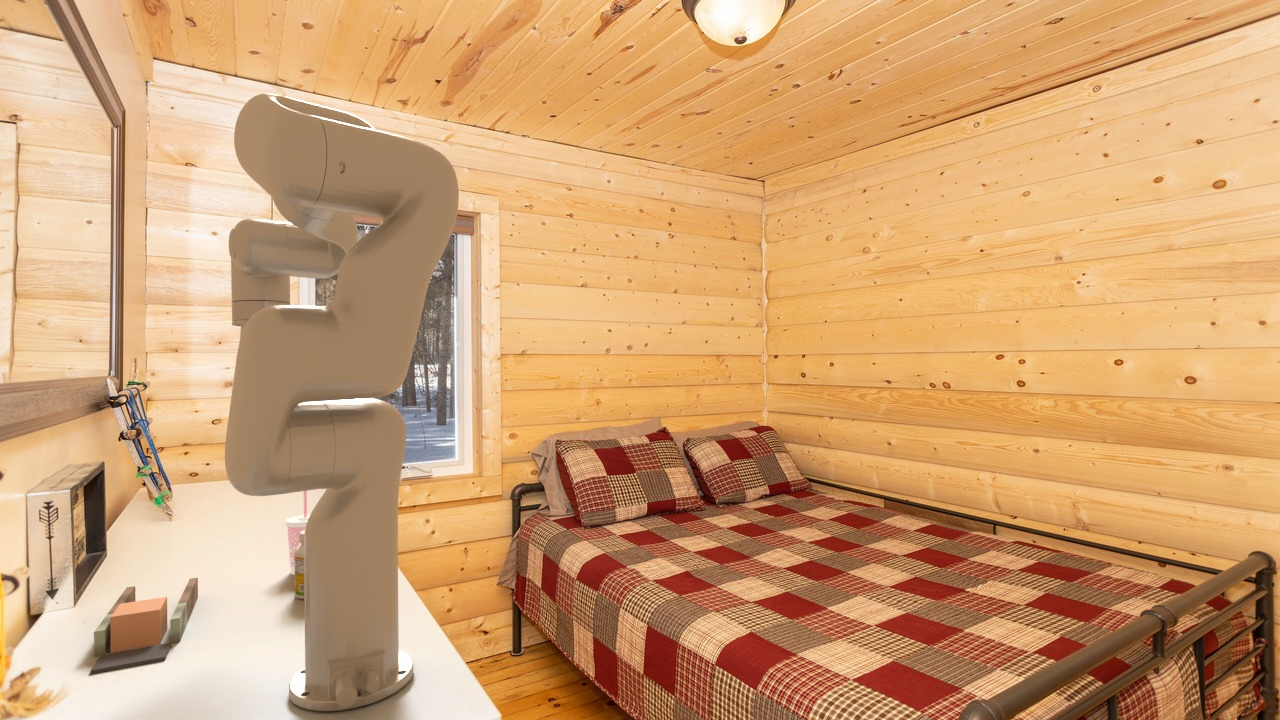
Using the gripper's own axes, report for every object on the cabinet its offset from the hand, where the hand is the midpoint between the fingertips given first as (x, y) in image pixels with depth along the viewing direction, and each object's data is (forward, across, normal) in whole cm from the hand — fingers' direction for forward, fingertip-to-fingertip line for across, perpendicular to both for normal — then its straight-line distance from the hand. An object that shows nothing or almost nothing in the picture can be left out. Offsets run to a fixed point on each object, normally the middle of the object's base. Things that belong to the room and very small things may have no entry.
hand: (264, 439), depth 96 cm
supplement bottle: (+24, -2, +6) cm, 25 cm away
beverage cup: (+24, -15, +6) cm, 29 cm away
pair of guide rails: (+24, -1, -14) cm, 28 cm away
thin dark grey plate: (+24, +11, -14) cm, 30 cm away
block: (+24, +5, -14) cm, 29 cm away
